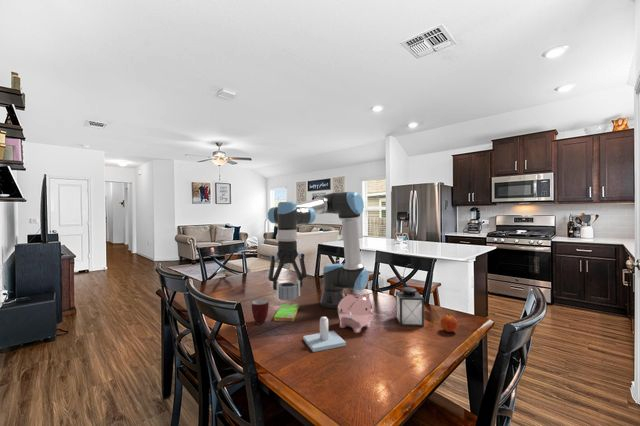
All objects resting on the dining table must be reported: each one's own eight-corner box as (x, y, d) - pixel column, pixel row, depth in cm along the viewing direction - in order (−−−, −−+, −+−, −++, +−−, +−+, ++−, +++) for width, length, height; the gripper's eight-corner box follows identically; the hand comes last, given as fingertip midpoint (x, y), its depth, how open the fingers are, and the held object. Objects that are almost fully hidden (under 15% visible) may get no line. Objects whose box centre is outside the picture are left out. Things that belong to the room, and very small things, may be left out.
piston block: (333, 334, 129) (333, 310, 129) (345, 345, 118) (345, 320, 118) (303, 339, 124) (303, 315, 124) (313, 352, 113) (313, 325, 113)
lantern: (418, 318, 148) (417, 262, 148) (424, 326, 137) (423, 266, 137) (395, 317, 149) (395, 262, 149) (399, 326, 138) (399, 266, 138)
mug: (266, 327, 137) (265, 306, 137) (248, 327, 137) (248, 306, 137) (269, 319, 147) (269, 299, 147) (253, 319, 147) (253, 299, 147)
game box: (273, 323, 145) (281, 307, 166) (293, 323, 145) (299, 307, 165) (273, 316, 145) (281, 302, 166) (293, 317, 145) (299, 302, 165)
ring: (294, 293, 123) (294, 281, 123) (300, 298, 116) (300, 286, 116) (275, 295, 120) (275, 283, 120) (280, 301, 113) (280, 288, 113)
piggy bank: (363, 338, 125) (363, 300, 125) (331, 327, 137) (330, 293, 137) (381, 327, 136) (381, 293, 136) (350, 318, 148) (350, 286, 148)
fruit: (456, 329, 133) (456, 311, 133) (458, 335, 127) (458, 317, 127) (440, 327, 136) (440, 310, 136) (441, 333, 129) (441, 315, 129)
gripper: (308, 238, 125) (309, 291, 125) (259, 240, 118) (260, 296, 118) (314, 239, 118) (315, 296, 118) (263, 242, 111) (263, 302, 111)
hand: (287, 296), depth 118 cm, fingers closed on ring, 8 cm apart
